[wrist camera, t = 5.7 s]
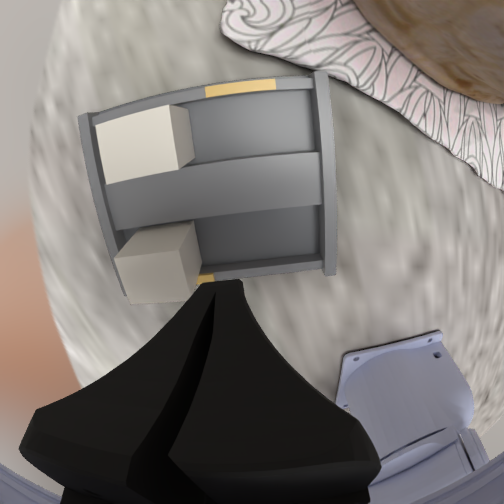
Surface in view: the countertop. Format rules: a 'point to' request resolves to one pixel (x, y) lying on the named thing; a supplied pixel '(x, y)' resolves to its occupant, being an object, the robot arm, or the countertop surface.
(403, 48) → the cookie jar
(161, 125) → the tab
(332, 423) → the robot arm
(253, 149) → the tray
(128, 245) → the tab
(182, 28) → the countertop surface
